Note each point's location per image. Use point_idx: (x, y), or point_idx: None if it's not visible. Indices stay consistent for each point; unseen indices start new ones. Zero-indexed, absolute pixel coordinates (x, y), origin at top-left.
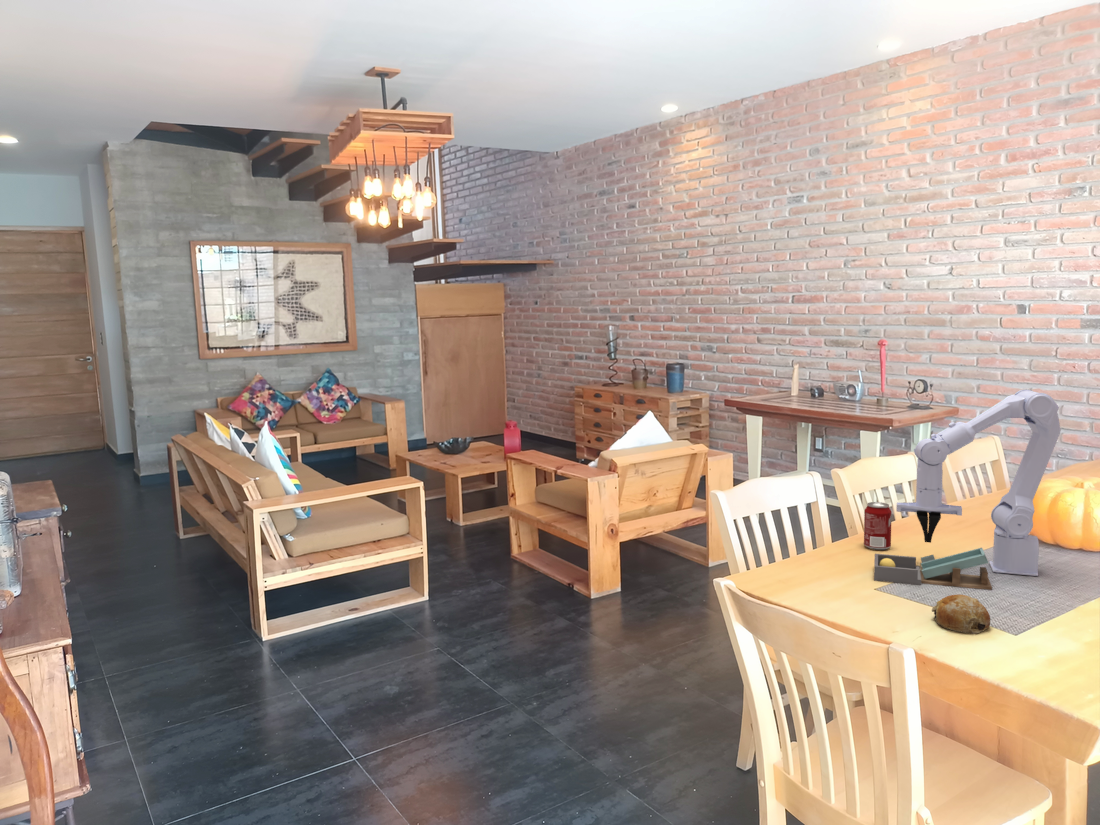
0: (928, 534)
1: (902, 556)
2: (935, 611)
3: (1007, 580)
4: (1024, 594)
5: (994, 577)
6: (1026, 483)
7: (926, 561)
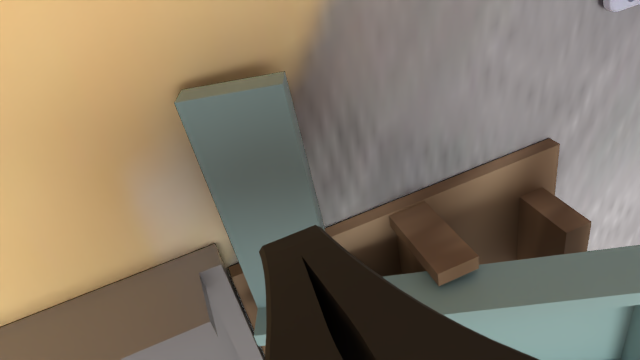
0: (340, 352)
1: None
2: None
3: (626, 102)
4: (631, 234)
5: (583, 91)
6: None
7: (258, 217)
